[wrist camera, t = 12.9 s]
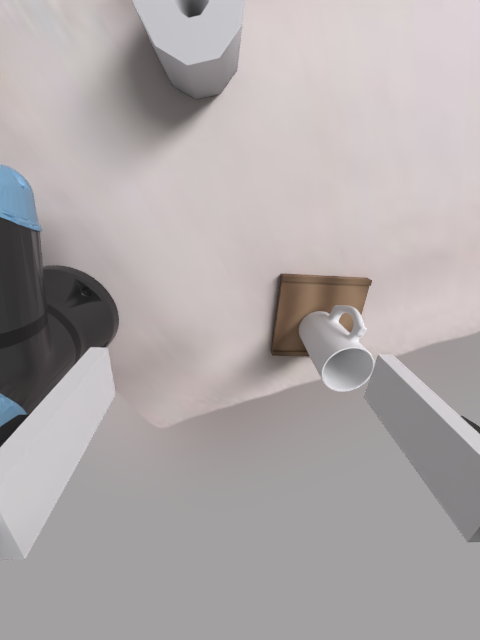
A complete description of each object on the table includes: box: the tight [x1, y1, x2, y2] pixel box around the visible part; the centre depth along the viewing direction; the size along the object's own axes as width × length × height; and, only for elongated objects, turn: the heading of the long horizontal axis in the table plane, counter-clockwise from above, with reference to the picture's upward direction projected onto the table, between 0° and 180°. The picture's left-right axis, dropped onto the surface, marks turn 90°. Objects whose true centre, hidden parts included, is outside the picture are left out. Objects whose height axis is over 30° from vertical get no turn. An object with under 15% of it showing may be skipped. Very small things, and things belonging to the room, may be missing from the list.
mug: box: [299, 305, 375, 392], centre depth 37 cm, size 10×7×12 cm, turn 162°
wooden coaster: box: [271, 274, 372, 356], centre depth 43 cm, size 14×14×2 cm
